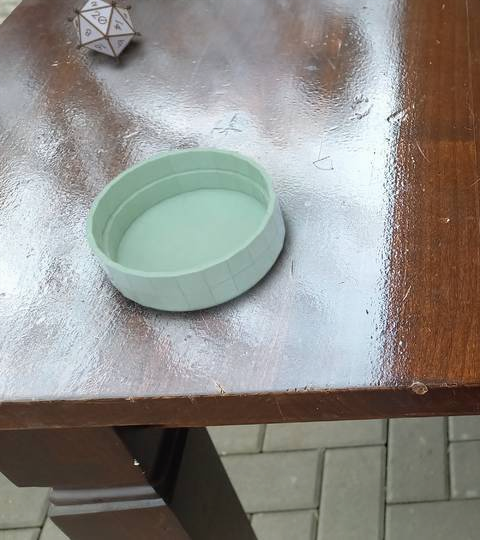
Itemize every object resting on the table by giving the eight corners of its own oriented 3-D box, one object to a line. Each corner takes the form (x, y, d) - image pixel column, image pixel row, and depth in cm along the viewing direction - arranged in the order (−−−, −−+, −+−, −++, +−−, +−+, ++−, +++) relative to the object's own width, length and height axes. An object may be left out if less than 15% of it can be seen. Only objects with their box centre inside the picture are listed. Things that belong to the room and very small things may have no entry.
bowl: (86, 317, 68) (59, 279, 63) (135, 189, 80) (115, 149, 75) (274, 312, 69) (260, 273, 64) (295, 185, 80) (285, 145, 76)
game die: (140, 72, 100) (163, 24, 94) (84, 81, 94) (105, 30, 87) (103, 23, 100) (124, -28, 94) (45, 28, 94) (63, -26, 87)
